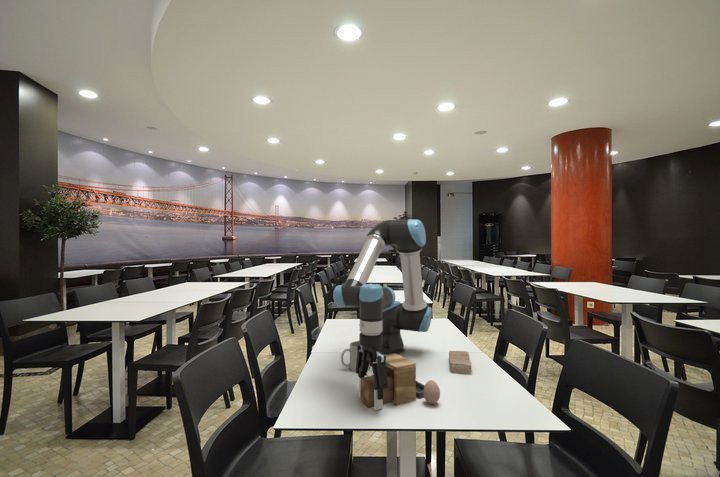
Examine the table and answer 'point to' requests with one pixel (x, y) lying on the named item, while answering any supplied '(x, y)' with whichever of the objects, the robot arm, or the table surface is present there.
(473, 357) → the table surface
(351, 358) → the mug
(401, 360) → the tunnel
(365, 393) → the walnut block
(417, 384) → the tray
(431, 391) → the egg
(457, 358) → the brick
